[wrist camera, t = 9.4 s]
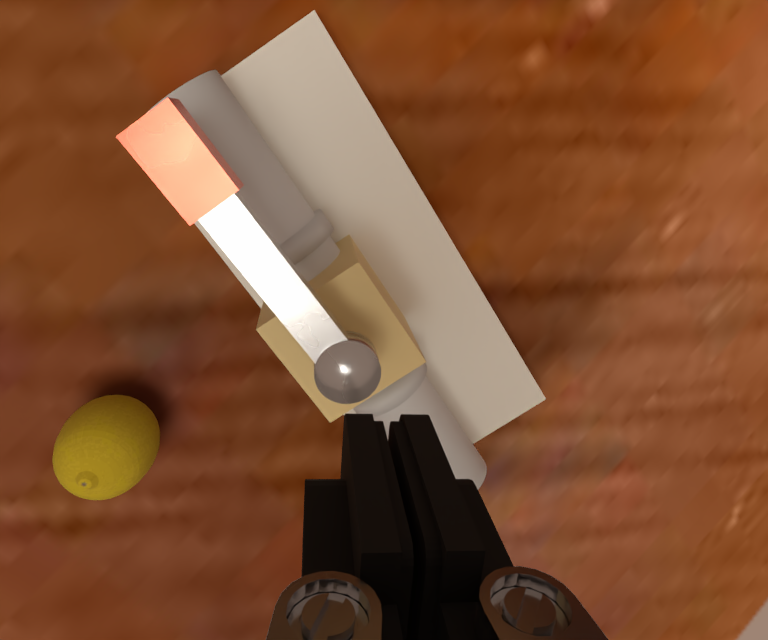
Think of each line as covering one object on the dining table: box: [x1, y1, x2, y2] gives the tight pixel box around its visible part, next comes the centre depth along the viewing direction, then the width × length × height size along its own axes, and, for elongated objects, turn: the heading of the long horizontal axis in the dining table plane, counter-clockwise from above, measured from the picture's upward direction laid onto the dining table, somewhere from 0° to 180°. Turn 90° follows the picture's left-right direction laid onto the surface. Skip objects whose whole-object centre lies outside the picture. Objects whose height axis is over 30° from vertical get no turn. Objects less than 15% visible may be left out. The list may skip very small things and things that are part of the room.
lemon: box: [53, 395, 160, 500], centre depth 34 cm, size 6×6×8 cm
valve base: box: [147, 10, 546, 489], centre depth 31 cm, size 28×12×10 cm, turn 32°
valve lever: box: [116, 97, 381, 404], centre depth 24 cm, size 14×3×2 cm, turn 34°
